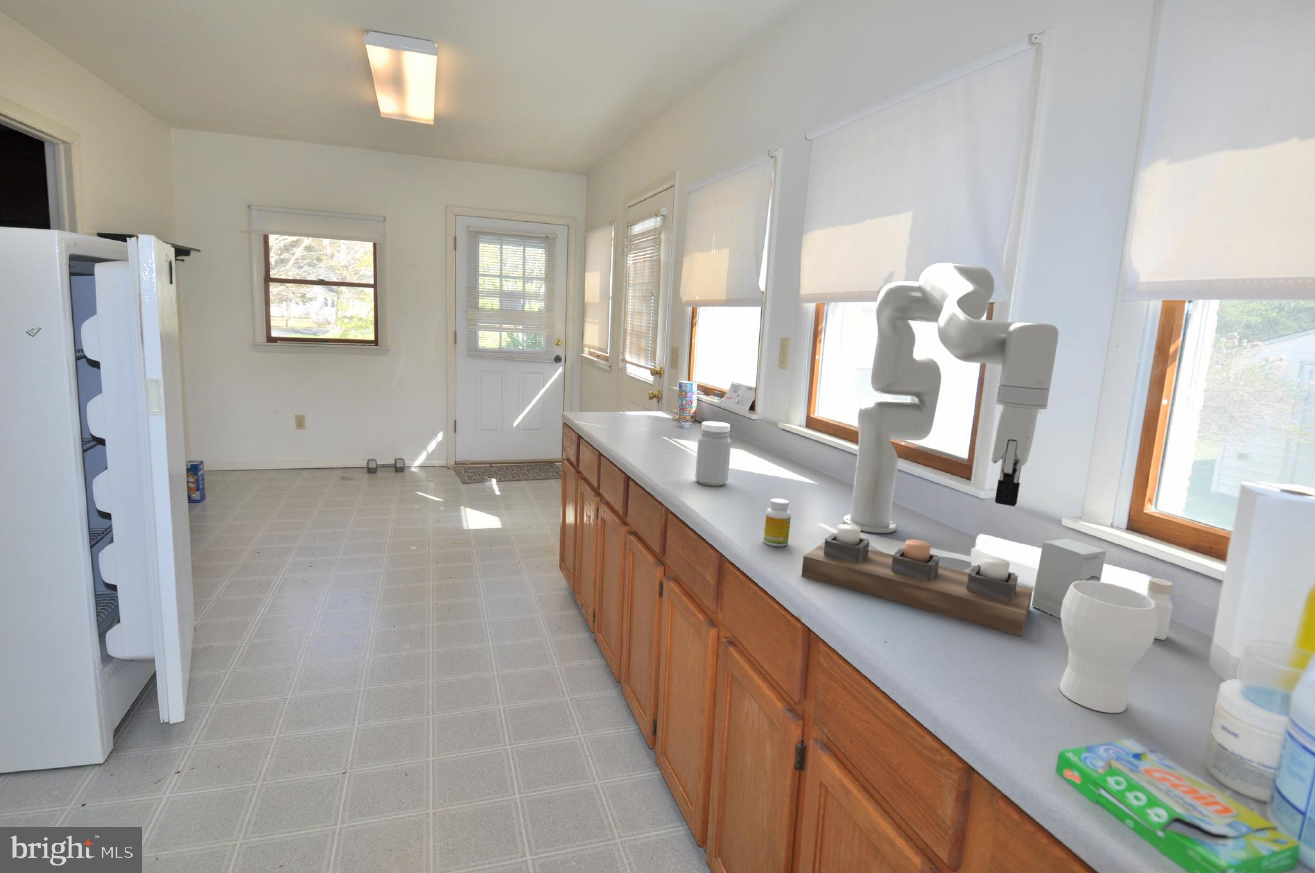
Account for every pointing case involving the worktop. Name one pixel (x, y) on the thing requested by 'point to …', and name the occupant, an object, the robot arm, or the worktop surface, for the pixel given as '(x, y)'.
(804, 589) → the worktop surface
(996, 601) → the button board
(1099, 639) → the cup
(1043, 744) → the worktop surface
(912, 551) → the terracotta plunger
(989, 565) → the off-white plunger
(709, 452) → the jar
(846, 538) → the off-white plunger
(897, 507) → the worktop surface
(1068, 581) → the supplement box
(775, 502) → the supplement bottle
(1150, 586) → the pepper shaker
